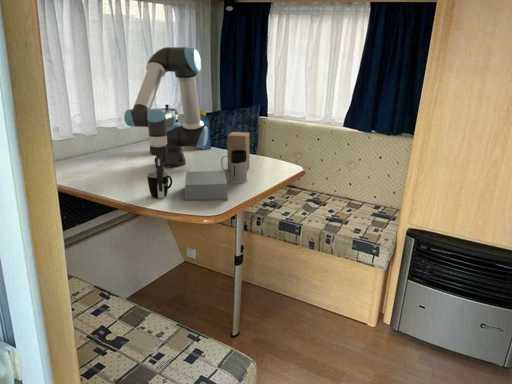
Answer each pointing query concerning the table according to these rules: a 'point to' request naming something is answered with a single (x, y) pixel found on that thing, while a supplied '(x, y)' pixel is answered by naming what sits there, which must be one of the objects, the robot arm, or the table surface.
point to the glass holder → (238, 166)
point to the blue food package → (207, 124)
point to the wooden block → (238, 145)
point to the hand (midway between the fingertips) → (161, 194)
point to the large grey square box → (206, 186)
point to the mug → (153, 186)
